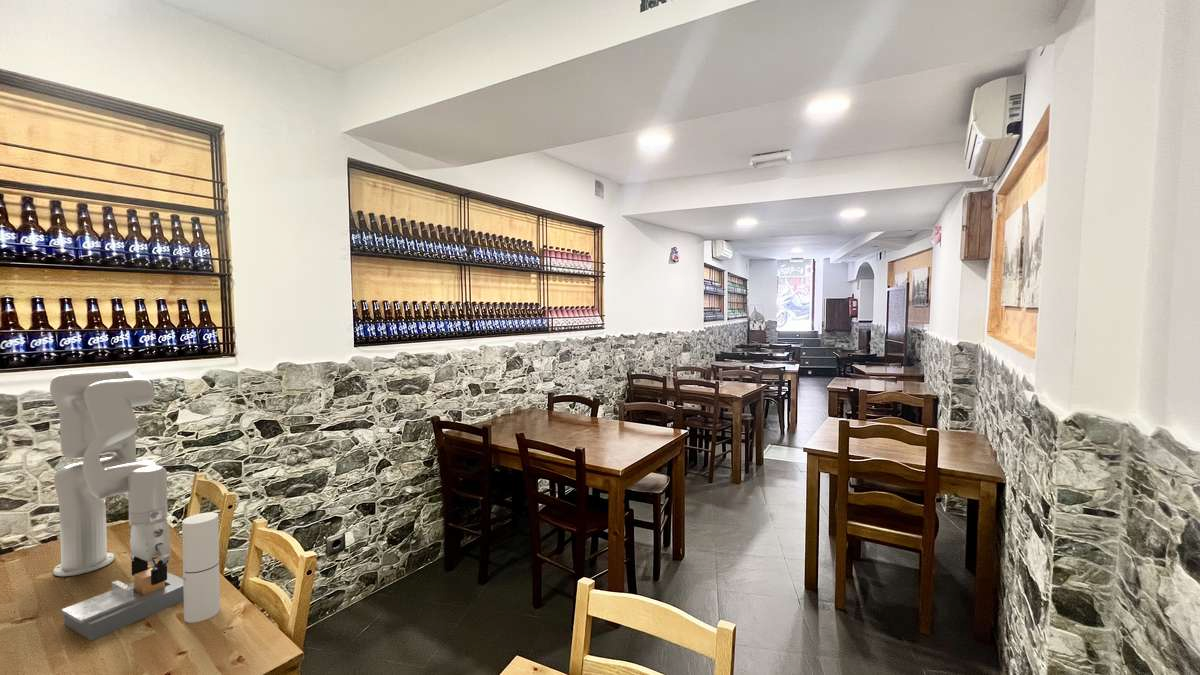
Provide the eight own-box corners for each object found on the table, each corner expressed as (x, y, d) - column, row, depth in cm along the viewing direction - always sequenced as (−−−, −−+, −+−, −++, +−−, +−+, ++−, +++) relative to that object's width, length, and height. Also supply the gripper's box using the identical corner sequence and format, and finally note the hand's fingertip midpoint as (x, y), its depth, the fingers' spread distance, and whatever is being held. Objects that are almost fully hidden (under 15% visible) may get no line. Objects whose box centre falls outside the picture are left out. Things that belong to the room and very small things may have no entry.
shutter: (61, 612, 118) (61, 599, 118) (115, 591, 127) (115, 579, 127) (80, 624, 114) (80, 610, 114) (135, 601, 123) (135, 588, 123)
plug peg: (134, 604, 129) (133, 574, 128) (156, 595, 133) (155, 566, 133) (143, 609, 127) (142, 578, 126) (165, 599, 131) (164, 570, 131)
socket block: (64, 624, 120) (63, 608, 120) (164, 584, 138) (163, 570, 138) (91, 640, 114) (91, 624, 114) (191, 596, 132) (191, 582, 132)
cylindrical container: (199, 624, 121) (197, 525, 120) (176, 620, 122) (174, 522, 121) (227, 607, 128) (225, 513, 127) (204, 604, 129) (203, 511, 128)
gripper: (183, 515, 129) (184, 579, 130) (149, 503, 136) (149, 563, 137) (147, 526, 122) (148, 593, 123) (113, 513, 129) (114, 576, 130)
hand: (149, 577), depth 130 cm, fingers open, 9 cm apart
